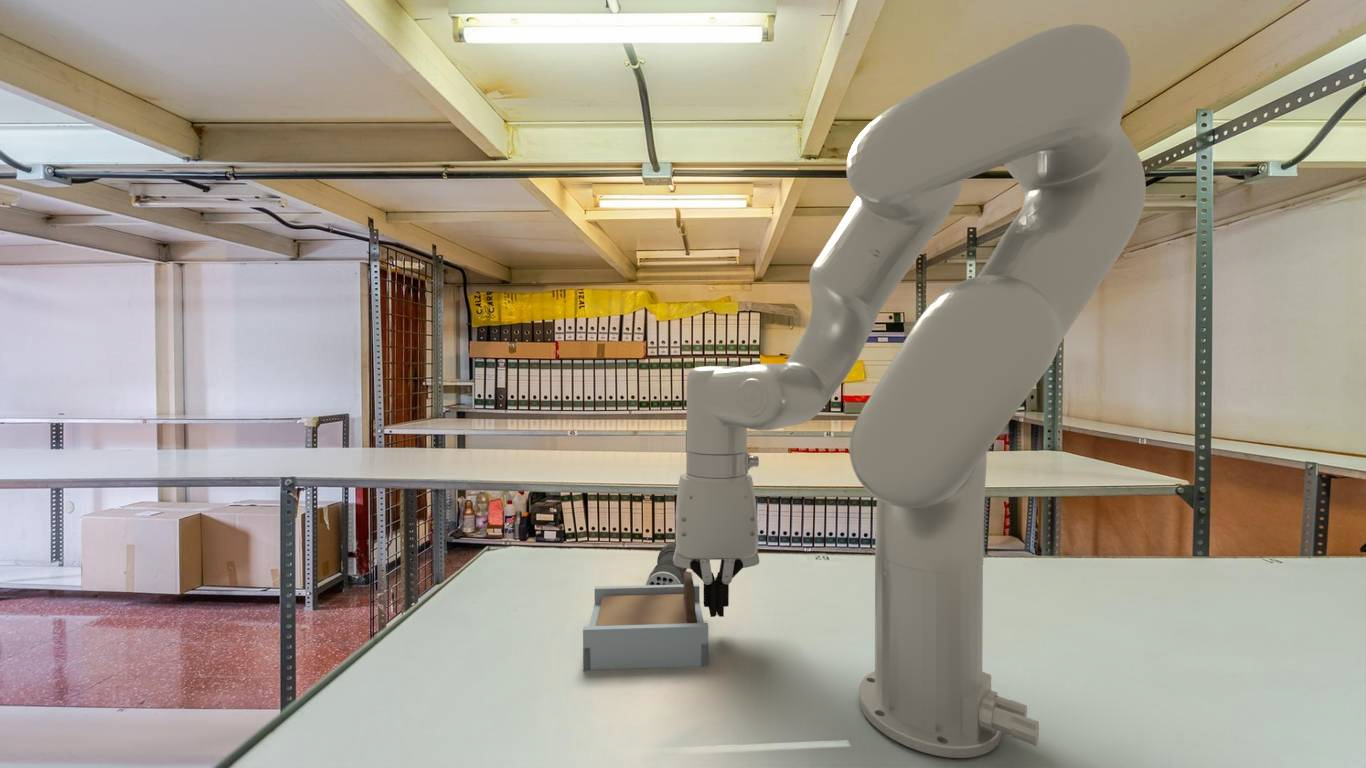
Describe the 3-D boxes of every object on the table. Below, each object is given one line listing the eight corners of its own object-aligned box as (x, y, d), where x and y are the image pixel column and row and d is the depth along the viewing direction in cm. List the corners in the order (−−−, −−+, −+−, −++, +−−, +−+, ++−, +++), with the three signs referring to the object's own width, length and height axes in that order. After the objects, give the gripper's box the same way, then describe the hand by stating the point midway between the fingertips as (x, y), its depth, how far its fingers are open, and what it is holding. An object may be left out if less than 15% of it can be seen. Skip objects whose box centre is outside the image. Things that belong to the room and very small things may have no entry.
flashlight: (658, 570, 90) (658, 539, 90) (690, 571, 89) (690, 540, 89) (644, 610, 74) (644, 572, 74) (682, 611, 74) (682, 573, 74)
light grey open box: (699, 620, 71) (698, 583, 71) (708, 670, 59) (708, 626, 59) (595, 623, 70) (595, 586, 70) (583, 674, 58) (583, 629, 58)
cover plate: (691, 602, 69) (691, 567, 69) (697, 638, 60) (697, 598, 60) (602, 604, 69) (602, 569, 69) (594, 642, 59) (594, 600, 59)
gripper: (769, 460, 69) (768, 598, 69) (656, 460, 68) (656, 600, 68) (783, 470, 61) (782, 625, 61) (656, 471, 60) (655, 627, 61)
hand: (715, 611), depth 65 cm, fingers closed
